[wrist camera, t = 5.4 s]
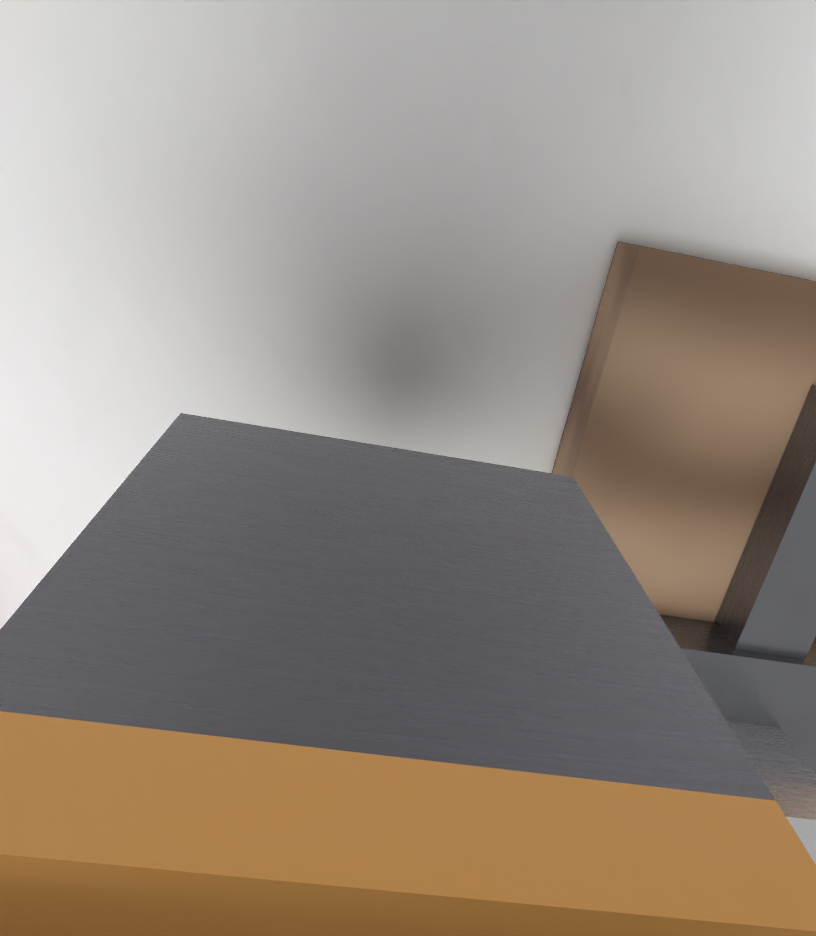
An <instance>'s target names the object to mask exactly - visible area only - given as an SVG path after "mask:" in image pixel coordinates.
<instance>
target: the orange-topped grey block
mask: <svg viewBox="0 0 816 936" xmlns="http://www.w3.org/2000/svg"><path fill="white" fill-rule="evenodd" d="M0 936H816V864H815V863H814V861H813V859H812V858H811V856H810V855H809V853H808V851H807V850H806V848H805V847H804V845H803V843H802V842H801V840H800V839H799V837H798V835H797V834H796V832H795V831H794V829H793V827H792V826H791V824H790V823H789V821H788V819H787V818H786V816H785V815H784V813H783V811H782V810H781V808H780V807H779V805H778V803H777V802H776V800H775V799H774V797H773V795H772V794H771V792H770V791H769V789H768V787H767V786H766V784H765V783H764V781H763V779H762V778H761V776H760V775H759V773H758V772H757V770H756V768H755V767H754V765H753V764H752V762H751V760H750V759H749V757H748V756H747V754H746V752H745V751H744V749H743V748H742V746H741V744H740V743H739V741H738V740H737V738H736V736H735V735H734V733H733V732H732V730H731V728H730V727H729V725H728V724H727V722H726V720H725V719H724V717H723V716H722V714H721V712H720V711H719V709H718V708H717V706H716V704H715V703H714V701H713V700H712V698H711V696H710V695H709V693H708V692H707V690H706V688H705V687H704V685H703V684H702V682H701V680H700V679H699V677H698V676H697V674H696V672H695V671H694V669H693V668H692V666H691V664H690V663H689V661H688V660H687V658H686V656H685V655H684V653H683V652H682V650H681V648H680V647H679V645H678V644H677V642H676V640H675V639H674V637H673V636H672V634H671V632H670V631H669V629H668V628H667V626H666V624H665V623H664V621H663V620H662V618H661V616H660V615H659V613H658V612H657V610H656V608H655V607H654V605H653V604H652V602H651V600H650V599H649V597H648V596H647V594H646V592H645V591H644V589H643V588H642V586H641V584H640V583H639V581H638V580H637V578H636V576H635V575H634V573H633V572H632V570H631V568H630V567H629V565H628V564H627V562H626V560H625V559H624V557H623V556H622V554H621V552H620V551H619V549H618V548H617V546H616V544H615V543H614V541H613V540H612V538H611V536H610V535H609V533H608V532H607V530H606V528H605V527H604V525H603V524H602V522H601V520H600V519H599V517H598V516H597V514H596V512H595V511H594V509H593V508H592V506H591V504H590V503H589V501H588V500H587V498H586V496H585V495H584V493H583V492H582V490H581V489H580V487H579V485H578V484H577V482H576V481H575V479H574V477H570V476H563V475H557V474H551V473H545V472H539V471H533V470H527V469H520V468H514V467H508V466H502V465H496V464H490V463H484V462H477V461H471V460H465V459H459V458H453V457H447V456H441V455H434V454H428V453H422V452H416V451H410V450H404V449H398V448H391V447H385V446H379V445H373V444H367V443H361V442H355V441H348V440H342V439H336V438H330V437H324V436H318V435H312V434H305V433H299V432H293V431H287V430H281V429H275V428H269V427H262V426H256V425H250V424H244V423H238V422H232V421H226V420H219V419H213V418H207V417H201V416H195V415H189V414H183V413H181V414H180V415H179V416H178V417H177V418H176V420H175V421H174V422H173V423H172V424H171V426H170V427H169V428H168V429H167V430H166V432H165V433H164V434H163V435H162V436H161V438H160V439H159V440H158V441H157V442H156V444H155V445H154V446H153V447H152V448H151V450H150V451H149V452H148V453H147V454H146V456H145V457H144V458H143V459H142V460H141V462H140V463H139V464H138V465H137V466H136V468H135V469H134V470H133V471H132V472H131V474H130V475H129V476H128V477H127V478H126V480H125V481H124V482H123V483H122V484H121V486H120V487H119V488H118V489H117V490H116V492H115V493H114V494H113V495H112V496H111V498H110V499H109V500H108V501H107V502H106V504H105V505H104V506H103V507H102V508H101V510H100V511H99V512H98V513H97V514H96V516H95V517H94V518H93V519H92V520H91V522H90V523H89V524H88V525H87V526H86V528H85V529H84V530H83V531H82V532H81V534H80V535H79V536H78V537H77V538H76V540H75V541H74V542H73V543H72V544H71V546H70V547H69V548H68V549H67V550H66V552H65V553H64V554H63V555H62V556H61V558H60V559H59V560H58V561H57V562H56V564H55V565H54V566H53V567H52V568H51V570H50V571H49V572H48V573H47V574H46V576H45V577H44V578H43V579H42V580H41V582H40V583H39V584H38V585H37V586H36V588H35V589H34V590H33V591H32V592H31V594H30V595H29V596H28V597H27V598H26V600H25V601H24V602H23V603H22V604H21V606H20V607H19V608H18V609H17V610H16V612H15V613H14V614H13V615H12V616H11V618H10V619H9V620H8V621H7V622H6V624H5V625H4V626H3V627H2V628H1V630H0Z"/></svg>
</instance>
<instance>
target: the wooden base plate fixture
mask: <svg viewBox="0 0 816 936" xmlns="http://www.w3.org/2000/svg"><path fill="white" fill-rule="evenodd" d="M552 474H557V475H563V476H570V477H574V479H575V481H576V482H577V484H578V485H579V487H580V489H581V490H582V492H583V493H584V495H585V496H586V498H587V500H588V501H589V503H590V504H591V506H592V508H593V509H594V511H595V512H596V514H597V516H598V517H599V519H600V520H601V522H602V524H603V525H604V527H605V528H606V530H607V532H608V533H609V535H610V536H611V538H612V540H613V541H614V543H615V544H616V546H617V548H618V549H619V551H620V552H621V554H622V556H623V557H624V559H625V560H626V562H627V564H628V565H629V567H630V568H631V570H632V572H633V573H634V575H635V576H636V578H637V580H638V581H639V583H640V584H641V586H642V588H643V589H644V591H645V592H646V594H647V596H648V597H649V599H650V600H651V602H652V604H653V605H654V607H655V608H656V610H657V612H658V613H659V615H660V616H661V618H662V620H663V621H664V623H665V624H666V626H667V628H668V629H669V631H670V632H671V634H672V636H673V637H674V639H675V640H676V642H677V644H678V645H679V647H680V648H681V650H682V652H683V653H684V655H685V656H686V658H687V660H688V661H689V663H690V664H691V666H692V668H693V669H694V671H695V672H696V674H697V676H698V677H699V679H700V680H701V682H702V684H703V685H704V687H705V688H706V690H707V692H708V693H709V695H710V696H711V698H712V700H713V701H714V703H715V704H716V706H717V708H718V709H719V711H720V712H721V714H722V716H723V717H724V719H725V720H726V722H727V724H728V725H729V727H730V728H731V730H732V732H733V733H734V735H735V736H736V738H737V740H738V741H739V743H740V744H741V746H742V748H743V749H744V751H745V752H746V754H747V756H748V757H749V759H750V760H751V762H752V764H753V765H754V767H755V768H756V770H757V772H758V773H759V775H760V776H761V778H762V779H763V781H764V783H765V784H766V786H767V787H768V789H769V791H770V792H771V794H772V795H773V797H774V799H775V800H776V802H777V803H778V805H779V807H780V808H781V810H782V811H783V813H784V815H785V816H786V818H787V819H788V821H789V823H790V824H791V826H792V827H793V829H794V831H795V832H796V834H797V835H798V837H799V839H800V840H801V842H802V843H803V845H804V847H805V848H806V850H807V851H808V853H809V855H810V856H811V858H812V859H813V861H814V863H815V864H816V281H811V280H806V279H801V278H797V277H792V276H787V275H782V274H777V273H772V272H767V271H762V270H757V269H752V268H747V267H742V266H737V265H732V264H727V263H722V262H717V261H712V260H707V259H702V258H697V257H692V256H687V255H682V254H677V253H672V252H667V251H662V250H658V249H653V248H648V247H643V246H638V245H633V244H628V243H623V242H618V243H617V246H616V250H615V253H614V257H613V260H612V264H611V267H610V271H609V274H608V278H607V281H606V285H605V288H604V292H603V295H602V299H601V302H600V306H599V309H598V313H597V317H596V320H595V324H594V327H593V331H592V334H591V338H590V341H589V345H588V348H587V352H586V355H585V359H584V362H583V366H582V369H581V373H580V376H579V380H578V383H577V387H576V390H575V394H574V397H573V401H572V404H571V408H570V411H569V415H568V418H567V422H566V425H565V429H564V432H563V436H562V439H561V443H560V446H559V450H558V453H557V457H556V460H555V464H554V468H553V471H552Z"/></svg>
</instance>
